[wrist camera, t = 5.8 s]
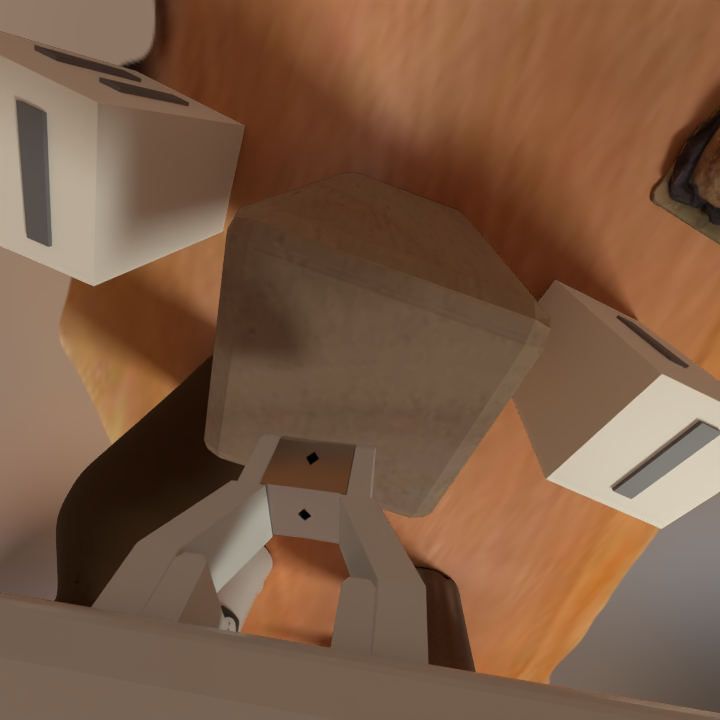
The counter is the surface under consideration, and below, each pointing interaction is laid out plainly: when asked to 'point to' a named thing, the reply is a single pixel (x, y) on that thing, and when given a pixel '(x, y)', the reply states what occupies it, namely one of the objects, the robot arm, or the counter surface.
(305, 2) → the counter surface
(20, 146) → the marked block two
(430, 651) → the plant pot
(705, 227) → the bread roll
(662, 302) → the counter surface
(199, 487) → the olive oil
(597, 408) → the marked block one
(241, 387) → the block
